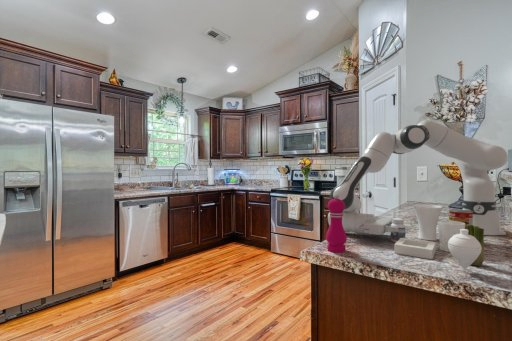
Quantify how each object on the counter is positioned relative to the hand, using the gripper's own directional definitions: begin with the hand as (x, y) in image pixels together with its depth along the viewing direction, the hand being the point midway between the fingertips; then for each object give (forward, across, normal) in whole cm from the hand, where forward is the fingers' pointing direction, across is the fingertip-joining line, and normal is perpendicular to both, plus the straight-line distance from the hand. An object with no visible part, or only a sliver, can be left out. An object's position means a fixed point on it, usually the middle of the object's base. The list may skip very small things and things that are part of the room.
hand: (400, 227), depth 114 cm
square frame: (+7, -13, +5) cm, 16 cm away
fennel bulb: (+23, -17, +6) cm, 29 cm away
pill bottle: (-1, 0, +6) cm, 6 cm away
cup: (+8, +11, +6) cm, 15 cm away
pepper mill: (-16, -27, +5) cm, 32 cm away
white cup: (+17, -3, +6) cm, 18 cm away
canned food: (+19, +16, +6) cm, 25 cm away
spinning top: (+21, -26, +6) cm, 34 cm away
